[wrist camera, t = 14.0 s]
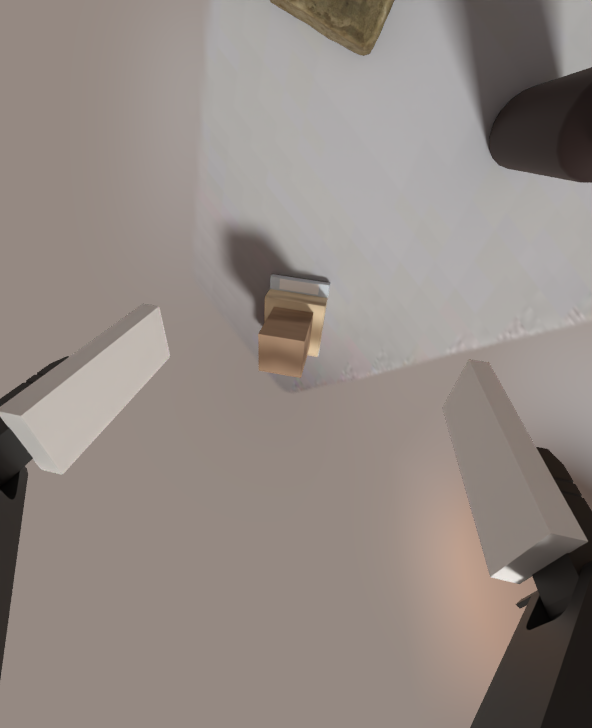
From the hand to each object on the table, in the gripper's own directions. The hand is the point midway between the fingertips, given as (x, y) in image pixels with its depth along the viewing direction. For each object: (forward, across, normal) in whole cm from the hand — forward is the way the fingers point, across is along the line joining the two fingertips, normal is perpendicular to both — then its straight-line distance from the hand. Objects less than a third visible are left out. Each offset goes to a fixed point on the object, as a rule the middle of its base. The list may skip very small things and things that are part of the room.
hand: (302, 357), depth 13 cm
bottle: (+33, +17, +10) cm, 38 cm away
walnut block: (+29, -5, -16) cm, 33 cm away
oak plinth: (+32, -5, -16) cm, 36 cm away
